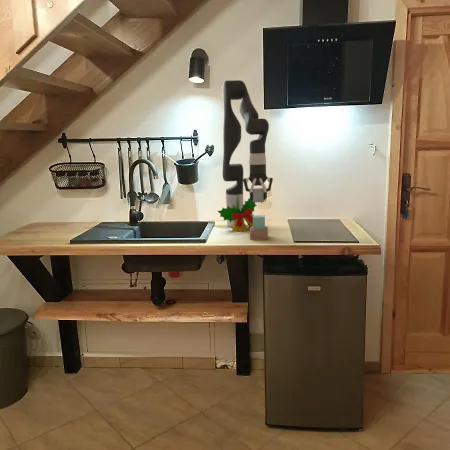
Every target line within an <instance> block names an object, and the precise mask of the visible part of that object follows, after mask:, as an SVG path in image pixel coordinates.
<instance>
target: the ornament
mask: <svg viewBox="0 0 450 450" xmlns="http://www.w3.org/2000/svg"><path fill="white" fill-rule="evenodd" d="M242 206H243V208H241V211H240V209H236V208H235V207H234V208H230V207H229V206H228V207H226V208H224V207H222V209H221V210H217V212H218V214H220V215H219V217H220V218H223V221H227V220H229V221H230V222H231V221H232V220H234V221H235V223H234V226H233V227H232V229H231V230H232V231H235V232H244V231H246V230H248V228H249V229H250V228H251V227H252V226H253V215H254V214H253V212H255V208H256V207H257V206H258V204H256V202H253V201H251V199H250V197H249V198H247V200H244V203H243V205H242ZM243 218H244V219H243ZM245 222H246V223H247V225H246V224H245ZM247 226H248V228H247Z"/></svg>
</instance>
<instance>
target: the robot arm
mask: <svg viewBox="0 0 450 450" xmlns="http://www.w3.org/2000/svg"><path fill="white" fill-rule="evenodd" d="M245 83H246V82H244V81H243V80H239V79H238V80H237V79H236V80H235V79H234V80H231V79H230V80H224V81H223V84H222V90H221V91H222V92H221V93H222V105H223V106H222V108H223V123H222V124H223V125H222V126H223V128H222V129H223V131H222V132H223V133H222V135H223V136H222V137H223V138H222V139H223V158H222V179H223V181H224V182H235V184H233V185H232V186H230V187H227V188H226V189H225V198H226V199H225V200H226V205H225V206H226V208H227V207H228V206H229V207H230V208H234V207H235V208H236V209H240V211H241V208H243V206H242V205H244V189H245V192H247V193H249V199H251V201H253V189H254V187H257V186H261V188H263V190H264V201H266V200H267V199H268V192H269V191H271V189H272V185H273V180H274V179H273V177H268V176H267V157H266V142H267V136H268V133H269V128H270V126H269V125H270V124H269V121H268V120H267V119H266V118H259V113H258V110H257V109H256V108H255V106H254V105H253V102H252V99H251V97H250V93H249V90H248V88H247V86H246V84H245ZM236 100H237V101H239V100H241V102H240V105H239V113H240V115H241V117H242V119H243V120H244V121H243V122H244V126H245V127H244V128H245V131H246V133H247V134H248V135H252V136H253V135H254V136H255V135H258V137H257V138H256V139H252V140H251V141H250V142H249V160H248V161H249V162H248V163H249V164H248V165H249V176H248V177H246V178H245V177H244V167H243V164H242V163H231V159H232V157H233V154H234V152H235V150H236V149H237V148H238V146H239V145H240V143H241V140H242V125H241V123H240V121H239V119H238V118H237V115H236V114H235V112H234V110H233V107H232V101H236ZM249 181H250V183H251V186H250V188H249V186H248V182H249ZM266 181H267V182H268V187H266V185H265V183H266ZM243 219H244V218H243ZM244 220H245V219H244ZM234 223H235V221H234V220H232V221H231V222H230V221H229V220H226V226H227V227H230V228H231V227H232V228H233V226H234Z"/></svg>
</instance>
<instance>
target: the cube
mask: <svg viewBox="0 0 450 450" xmlns="http://www.w3.org/2000/svg"><path fill="white" fill-rule="evenodd" d="M265 217H266V216H265V215H263V214H261V215H258V214H257V215H255V214H253V229H265V226H266V221H265V220H266V218H265Z"/></svg>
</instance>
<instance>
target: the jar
mask: <svg viewBox="0 0 450 450" xmlns="http://www.w3.org/2000/svg"><path fill="white" fill-rule="evenodd" d="M252 192H253V202H255V203H264V202H265V200H264V190H263V188H262V187H255V188H253V191H252Z"/></svg>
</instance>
